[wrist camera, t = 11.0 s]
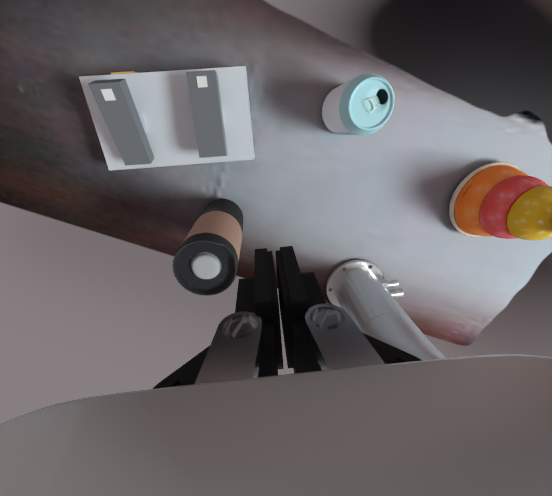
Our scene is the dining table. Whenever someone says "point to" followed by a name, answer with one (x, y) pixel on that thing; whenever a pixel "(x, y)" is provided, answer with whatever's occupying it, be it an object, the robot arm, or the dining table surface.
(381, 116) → the can
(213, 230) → the travel mug
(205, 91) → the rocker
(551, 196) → the stacking toy
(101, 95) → the block
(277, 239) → the dining table surface
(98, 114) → the switch housing
